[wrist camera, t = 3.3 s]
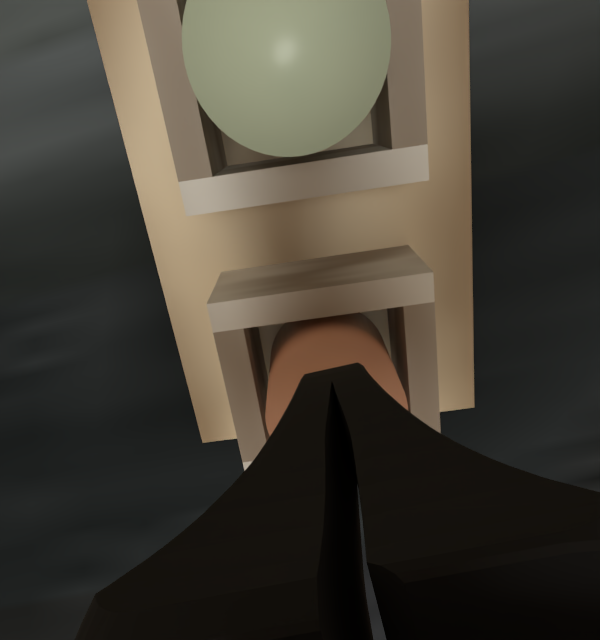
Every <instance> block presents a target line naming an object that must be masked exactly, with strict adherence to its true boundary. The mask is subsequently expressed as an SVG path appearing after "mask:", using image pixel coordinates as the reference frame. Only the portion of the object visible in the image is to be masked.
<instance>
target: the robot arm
mask: <svg viewBox="0 0 600 640" xmlns="http://www.w3.org/2000/svg"><path fill="white" fill-rule="evenodd" d="M357 484H358V488H359V494H360V502H361V510H362V518H363V528H364V537H365V547H366V559H367V565H368V569H369V573H370V577H371V581H372V584H373V588H374V592H375V596H376V600H377V604H378V608H379V612H380V615H381V619H382V623H383V627H384V631H385V635H386V639H387V640H600V492H596V491H592V490H589V489H585V488H581V487H577V486H573V485H569V484H565V483H561V482H557V481H554V480H550V479H546V478H543V477H540V476H537V475H534V474H531V473H528V472H525V471H522V470H520V469H517V468H514V467H511V466H508V465H506V464H503V463H501V462H498V461H496V460H493V459H491V458H488V457H486V456H484V455H482V454H480V453H477V452H475V451H473V450H471V449H469V448H466V447H464V446H462V445H460V444H458V443H456V442H455V441H453V440H451V439H449V438H447V437H446V436H444V435H442V434H441V433H439V432H437V431H436V430H434V429H433V428H431V427H430V426H428V425H427V424H425V423H424V422H423V421H421V420H420V419H419V418H417V417H416V416H415V415H413V414H412V413H410V412H409V411H408V410H407V409H405V408H404V407H403V406H402V405H401V404H399V403H398V402H397V401H396V400H395V399H394V398H393V397H392V396H390V395H389V394H388V393H387V392H386V391H385V390H384V389H383V388H382V387H381V386H380V385H379V384H378V383H377V382H376V381H375V380H374V379H373V378H372V376H371V375H370V374H369V373H368V372H367V370H366V369H365V367H364V366H363V365H361V364H360V363H358V362H357V363H353V364H348V365H344V366H339V367H334V368H330V369H325V370H321V371H316V372H312V373H307V374H304V375H303V377H302V378H301V380H300V382H299V384H298V386H297V389H296V391H295V393H294V395H293V397H292V399H291V401H290V403H289V405H288V407H287V408H286V410H285V412H284V414H283V415H282V417H281V419H280V421H279V423H278V424H277V426H276V428H275V429H274V431H273V432H272V434H271V435H270V437H269V438H268V440H267V441H266V443H265V444H264V446H263V447H262V449H261V450H260V452H259V453H258V455H257V456H256V457H255V459H254V460H253V461H252V463H251V464H250V465H249V466H248V468H247V469H246V470H245V471H244V472H243V473H242V475H241V476H240V477H239V478H238V479H237V480H236V481H235V483H234V484H233V485H232V486H231V487H230V488H229V489H228V490H227V491H226V492H225V493H224V494H223V495H222V496H221V497H220V498H219V499H218V500H217V501H216V502H215V503H214V504H213V505H212V506H211V507H210V508H209V509H208V510H207V511H206V512H205V513H204V514H202V515H201V516H200V517H199V518H198V519H197V520H196V521H194V522H193V523H192V524H191V525H190V526H189V527H187V528H186V529H185V530H184V531H183V532H182V533H180V534H179V535H178V536H177V537H175V538H174V539H173V540H172V541H170V542H169V543H168V544H167V545H165V546H164V547H163V548H161V549H160V550H159V551H157V552H156V553H155V554H153V555H152V556H151V557H149V558H148V559H147V560H145V561H144V562H142V563H141V564H139V565H138V566H136V567H135V568H133V569H132V570H131V571H129V572H128V573H126V574H125V575H123V576H122V577H120V578H119V579H117V580H116V581H115V582H113V583H112V584H110V585H109V586H107V587H106V588H104V589H103V590H101V591H99V592H98V593H96V594H95V596H94V598H93V601H92V603H91V605H90V607H89V609H88V611H87V613H86V615H85V617H84V619H83V622H82V624H81V626H80V628H79V631H78V633H77V636H76V638H75V640H373V635H372V629H371V623H370V617H369V611H368V605H367V599H366V592H365V583H364V574H363V560H362V546H361V532H360V518H359V504H358V491H357Z"/></svg>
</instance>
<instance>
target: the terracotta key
mask: <svg viewBox="0 0 600 640" xmlns="http://www.w3.org/2000/svg"><path fill="white" fill-rule="evenodd" d="M357 362H358V363H360V364H361V365H363V366H364V367H365V369H366V370H367V372H368V373H369V374H370V375H371V376H372V378H373V379H374V380H375V381H376V382H377V383H378V384H379V385H380V386H381V387H382V388H383V389H384V390H385V391H386V392H387V393H388V394H389V395H390V396H392V397H393V398H394V399H395V400H396V401H397V402H398V403H399V404H401V405H402V406H403V407H404V408H405V409H407V410H408V404H407V398H406V395H405V392H404V389H403V387H402V384H401V382H400V380H399V377H398V375H397V372H396V370H395V367H394V365H393V363H392V360H391V358H390V355H389V353H388V350H387V348H386V345H385V343H384V341H383V338H382V336H381V334H380V332H379V330H378V329H377V327H376V326H375V325H374V324H373V322H372V321H371V320H370V319H368V318H367V317H366V316H365V315H363V314H362V313H360V312H359V313H351V314H344V315H337V316H330V317H323V318H315V319H308V320H301V321H294V322H287V323H285V324H284V325H283V326H282V327H281V329H280V330H279V331H278V333H277V335H276V337H275V339H274V342H273V345H272V349H271V356H270V367H269V378H268V389H267V400H266V412H265V419H266V426H267V430H268V433H269V436H270V435H271V434H272V432H273V431H274V429H275V428H276V426H277V424H278V423H279V421H280V419H281V417H282V415H283V414H284V412H285V410H286V408H287V407H288V405H289V403H290V401H291V399H292V397H293V395H294V393H295V391H296V389H297V386H298V384H299V382H300V380H301V378H302V377H303V375H304V374H307V373H312V372H316V371H321V370H325V369H330V368H334V367H339V366H344V365H348V364H353V363H357Z"/></svg>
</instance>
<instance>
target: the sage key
mask: <svg viewBox="0 0 600 640" xmlns="http://www.w3.org/2000/svg"><path fill="white" fill-rule="evenodd" d="M182 51H183V58H184V64H185V68H186V72H187V75H188V79H189V82H190V84H191V87H192V89H193V92H194V94H195V96H196V97H197V99H198V101H199V103H200V105H201V106H202V108H203V109H204V111H205V112H206V114H207V115H208V116H209V118H210V119H211V120H212V121H213V122H214V123H215V124H216V126H217V127H218V128H219V129H221V130H222V131H223V132H224V133H225V134H226V135H227V136H229V137H230V138H232V139H233V140H235V141H236V142H238V143H239V144H241V145H243V146H245V147H247V148H249V149H251V150H254V151H257V152H260V153H263V154H267V155H272V156H279V157H296V156H304V155H308V154H313V153H316V152H319V151H321V150H324V149H327V148H328V147H330V146H332V145H334V144H336V143H338V142H339V141H341V140H342V139H343V138H345V137H346V136H348V135H349V134H350V133H351V132H352V131H353V130H354V129H355V128H356V127H357V126H358V125H359V124H360V123H361V122H362V121H363V119H364V118H365V117H366V116H367V115H368V113H369V111H370V110H371V108H372V107H373V105H374V104H375V102H376V100H377V98H378V96H379V94H380V92H381V89H382V87H383V84H384V81H385V78H386V75H387V70H388V66H389V61H390V52H391V26H390V18H389V13H388V9H387V5H386V0H187V1H186V5H185V10H184V15H183V23H182Z"/></svg>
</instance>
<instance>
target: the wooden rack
mask: <svg viewBox="0 0 600 640" xmlns="http://www.w3.org/2000/svg"><path fill="white" fill-rule="evenodd" d="M186 1H187V0H87V2H88V6H89V10H90V14H91V17H92V21H93V25H94V29H95V33H96V37H97V40H98V44H99V48H100V52H101V56H102V59H103V63H104V67H105V71H106V75H107V79H108V82H109V86H110V90H111V94H112V98H113V102H114V105H115V109H116V113H117V117H118V121H119V124H120V128H121V132H122V136H123V140H124V144H125V147H126V151H127V155H128V159H129V163H130V167H131V170H132V174H133V178H134V182H135V186H136V189H137V193H138V197H139V201H140V205H141V209H142V212H143V216H144V220H145V224H146V228H147V232H148V235H149V239H150V243H151V247H152V251H153V254H154V258H155V262H156V266H157V270H158V274H159V277H160V281H161V285H162V289H163V293H164V297H165V300H166V304H167V308H168V312H169V316H170V320H171V323H172V327H173V331H174V335H175V339H176V342H177V346H178V350H179V354H180V358H181V362H182V365H183V369H184V373H185V377H186V381H187V385H188V388H189V392H190V396H191V400H192V404H193V407H194V411H195V415H196V419H197V423H198V427H199V430H200V434H201V438H202V442H203V443H205V442H213V441H220V440H228V439H236V438H237V440H238V444H239V448H240V453H241V457H242V461H243V466H244V470H246V469H247V468H248V466H249V465H250V464H251V463H252V461H253V460H254V459H255V457H256V456H257V455H258V453H259V452H260V450H261V449H262V447H263V446H264V444H265V443H266V441H267V440H268V438H269V437H270V436H269V433H268V430H267V426H266V419H265V412H266V400H267V389H268V378H269V367H270V356H271V349H272V345H273V342H274V339H275V337H276V335H277V333H278V331H279V330H280V329H281V327H282V326H283V325H284V324H285V323H287V322H294V321H301V320H308V319H315V318H323V317H330V316H337V315H344V314H351V313H359V312H360V313H362V314H363V315H365V316H366V317H367V318H368V319H370V320H371V321H372V322H373V324H374V325H375V326H376V327H377V329H378V330H379V332H380V334H381V336H382V338H383V341H384V343H385V345H386V348H387V350H388V353H389V355H390V358H391V360H392V363H393V365H394V367H395V370H396V372H397V375H398V377H399V380H400V382H401V384H402V387H403V389H404V392H405V395H406V398H407V404H408V411H409V412H410V413H412V414H413V415H415V416H416V417H417V418H419V419H420V420H421V421H423V422H424V423H425V424H427V425H428V426H430V427H431V428H433V429H434V430H436V431H437V432H439V433H441V431H440V412H443V411H451V410H459V409H466V408H474V345H473V273H472V202H471V130H470V59H469V0H386V5H387V9H388V13H389V18H390V26H391V52H390V61H389V66H388V70H387V75H386V78H385V81H384V84H383V87H382V89H381V92H380V94H379V96H378V98H377V100H376V102H375V104H374V105H373V107H372V108H371V110H370V111H369V113H368V115H367V116H366V117H365V118H364V119H363V121H362V122H361V123H360V124H359V125H358V126H357V127H356V128H355V129H354V130H353V131H352V132H351V133H350V134H349V135H348V136H346V137H345V138H343V139H342V140H341V141H339V142H338V143H336V144H334V145H332V146H330V147H328V148H327V149H324V150H321V151H319V152H316V153H313V154H308V155H304V156H296V157H279V156H272V155H267V154H263V153H260V152H257V151H254V150H251V149H249V148H247V147H245V146H243V145H241V144H239V143H238V142H236V141H235V140H233V139H232V138H230V137H229V136H227V135H226V134H225V133H224V132H223V131H222V130H221V129H219V128H218V127H217V126H216V124H215V123H214V122H213V121H212V120H211V119H210V118H209V116H208V115H207V114H206V112H205V111H204V109H203V108H202V106H201V105H200V103H199V101H198V99H197V97H196V96H195V94H194V92H193V89H192V87H191V84H190V82H189V79H188V75H187V72H186V68H185V64H184V58H183V51H182V23H183V15H184V10H185V5H186Z"/></svg>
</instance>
